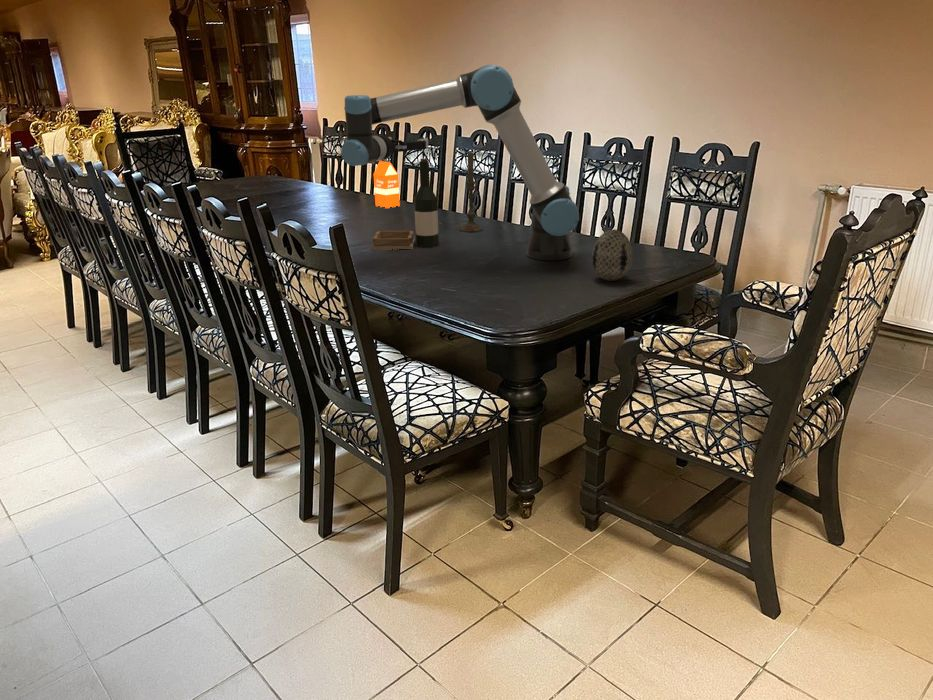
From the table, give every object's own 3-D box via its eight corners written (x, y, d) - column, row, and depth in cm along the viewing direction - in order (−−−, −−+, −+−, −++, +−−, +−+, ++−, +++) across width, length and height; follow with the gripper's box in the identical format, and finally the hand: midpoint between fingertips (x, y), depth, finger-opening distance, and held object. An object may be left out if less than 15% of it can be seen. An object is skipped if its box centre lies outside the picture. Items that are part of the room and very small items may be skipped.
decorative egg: (582, 277, 207) (585, 227, 202) (616, 272, 211) (619, 224, 206) (604, 287, 197) (607, 236, 192) (638, 283, 201) (642, 232, 196)
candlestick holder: (456, 231, 268) (454, 151, 257) (464, 226, 276) (463, 149, 264) (478, 233, 265) (477, 152, 253) (486, 228, 273) (486, 149, 261)
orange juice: (388, 203, 325) (386, 160, 318) (400, 206, 319) (397, 161, 312) (375, 206, 321) (372, 161, 313) (386, 208, 315) (383, 163, 307)
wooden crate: (412, 249, 242) (411, 239, 241) (372, 250, 242) (371, 239, 241) (415, 240, 255) (414, 230, 254) (377, 240, 255) (376, 230, 254)
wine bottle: (435, 247, 244) (432, 160, 233) (413, 247, 246) (408, 160, 234) (441, 242, 251) (438, 157, 240) (419, 241, 253) (415, 157, 242)
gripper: (343, 159, 218) (376, 152, 236) (413, 162, 209) (442, 154, 227) (341, 134, 216) (375, 129, 234) (412, 136, 207) (442, 131, 225)
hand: (408, 141), depth 231 cm, fingers open, 13 cm apart
